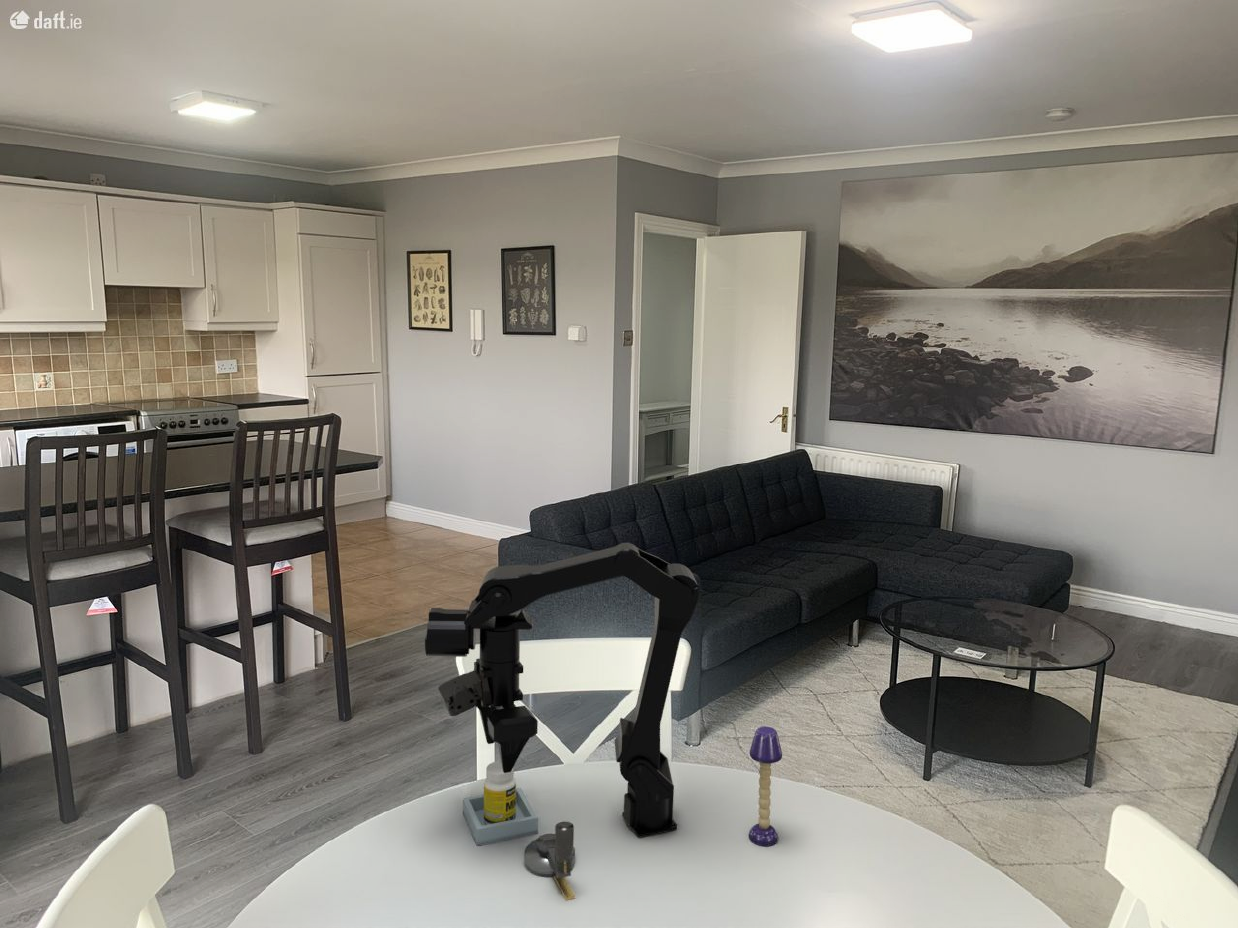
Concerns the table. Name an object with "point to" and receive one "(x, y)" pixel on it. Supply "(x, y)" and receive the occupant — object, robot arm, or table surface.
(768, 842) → the toy lamp
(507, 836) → the tray
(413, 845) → the table surface
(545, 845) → the crank
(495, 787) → the supplement bottle
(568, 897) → the crank base
